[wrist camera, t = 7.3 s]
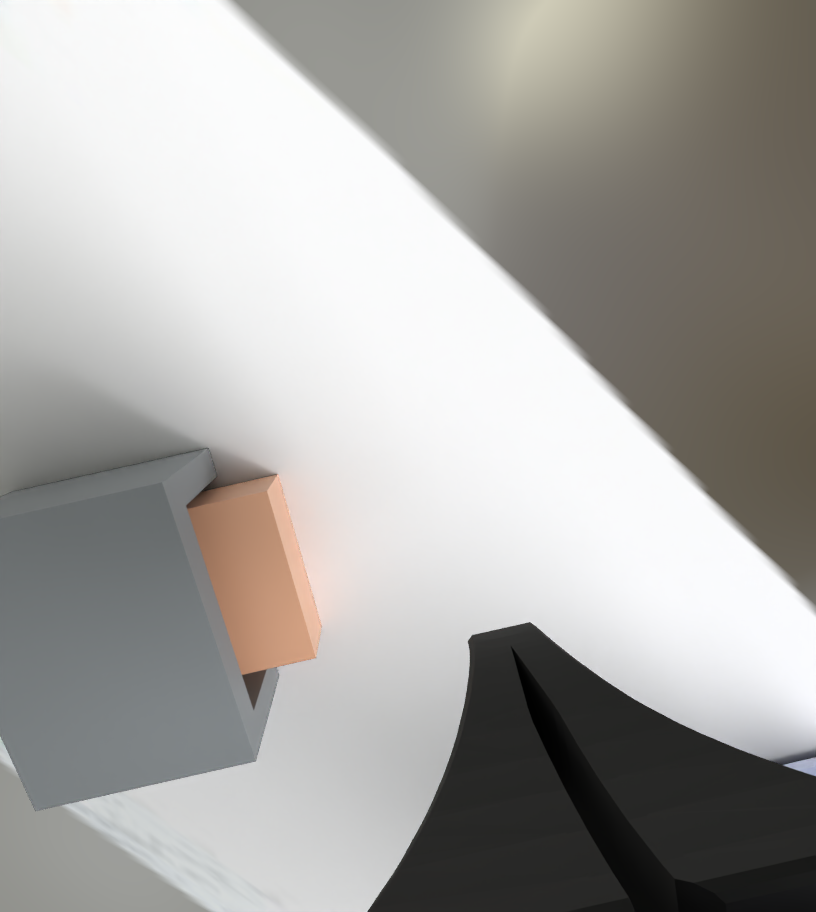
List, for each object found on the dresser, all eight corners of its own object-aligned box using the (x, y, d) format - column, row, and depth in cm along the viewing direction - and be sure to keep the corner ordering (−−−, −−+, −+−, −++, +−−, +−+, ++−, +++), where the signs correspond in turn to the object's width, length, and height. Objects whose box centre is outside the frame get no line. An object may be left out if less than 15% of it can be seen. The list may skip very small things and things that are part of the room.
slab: (279, 471, 19) (267, 490, 17) (322, 621, 21) (316, 657, 19) (57, 521, 19) (14, 548, 17) (115, 668, 21) (82, 711, 18)
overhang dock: (208, 448, 19) (161, 482, 15) (279, 675, 21) (255, 761, 17) (11, 492, 19) (-91, 538, 15) (102, 715, 21) (35, 811, 17)
